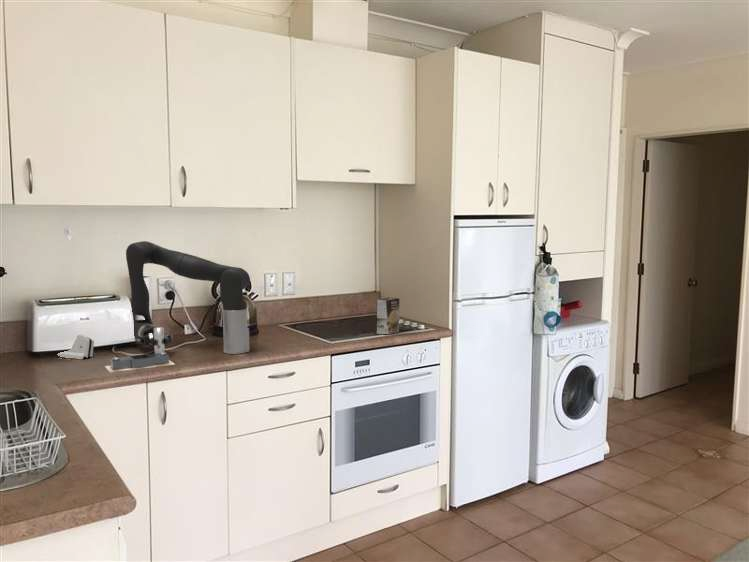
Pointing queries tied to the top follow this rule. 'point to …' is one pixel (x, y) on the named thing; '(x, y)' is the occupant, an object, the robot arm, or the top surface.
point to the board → (137, 368)
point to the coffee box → (387, 315)
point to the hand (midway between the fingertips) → (161, 342)
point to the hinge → (79, 348)
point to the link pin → (159, 339)
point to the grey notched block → (139, 361)
